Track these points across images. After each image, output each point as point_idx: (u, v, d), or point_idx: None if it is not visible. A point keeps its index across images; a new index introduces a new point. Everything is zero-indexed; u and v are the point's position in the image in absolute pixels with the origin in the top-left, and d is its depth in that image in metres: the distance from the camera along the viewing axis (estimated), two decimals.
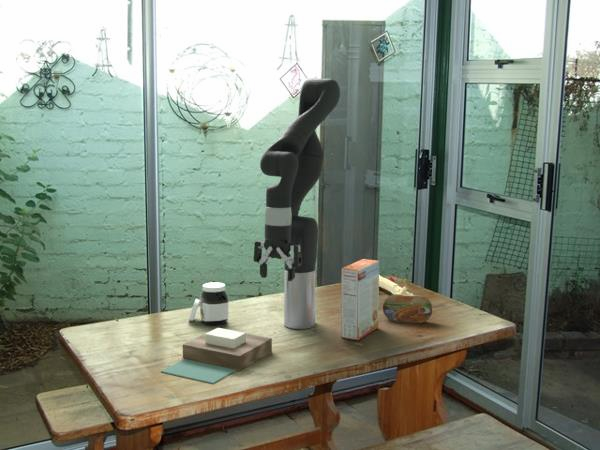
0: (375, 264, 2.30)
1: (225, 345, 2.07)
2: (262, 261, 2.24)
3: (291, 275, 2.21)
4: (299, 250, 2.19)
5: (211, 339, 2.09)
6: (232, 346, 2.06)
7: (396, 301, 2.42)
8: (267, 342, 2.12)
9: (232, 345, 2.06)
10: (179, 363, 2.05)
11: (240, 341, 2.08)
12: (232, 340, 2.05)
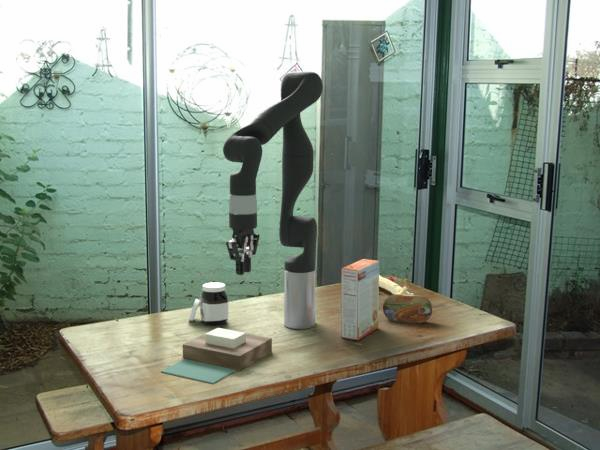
0: (375, 264, 2.30)
1: (225, 345, 2.07)
2: (243, 257, 2.12)
3: None
4: None
5: (211, 339, 2.09)
6: (232, 346, 2.06)
7: (396, 301, 2.42)
8: (267, 342, 2.12)
9: (232, 345, 2.06)
10: (179, 363, 2.05)
11: (240, 341, 2.08)
12: (232, 340, 2.05)
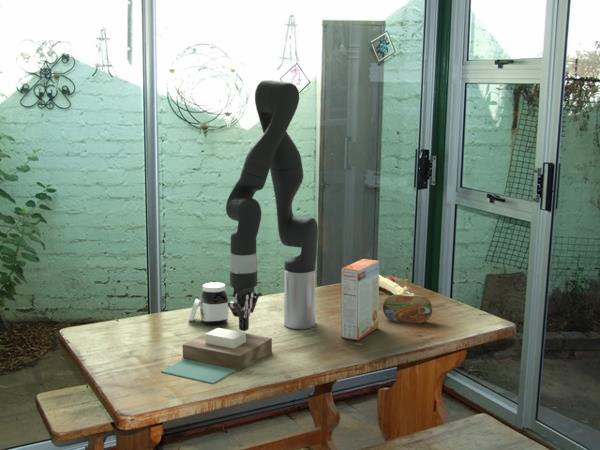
0: (375, 264, 2.30)
1: (225, 345, 2.07)
2: (246, 313, 2.16)
3: None
4: None
5: (211, 339, 2.09)
6: (232, 346, 2.06)
7: (396, 301, 2.42)
8: (267, 342, 2.12)
9: (232, 345, 2.06)
10: (179, 363, 2.05)
11: (240, 341, 2.08)
12: (232, 340, 2.05)
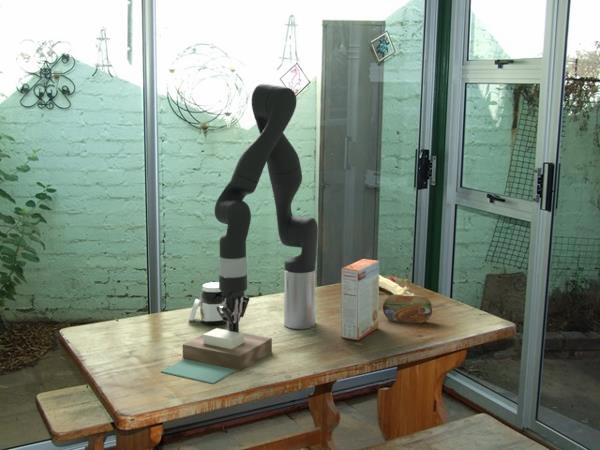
0: (375, 264, 2.30)
1: (223, 346, 2.06)
2: (235, 318, 2.11)
3: None
4: None
5: (209, 340, 2.08)
6: (230, 347, 2.05)
7: (396, 301, 2.42)
8: (267, 342, 2.12)
9: (230, 346, 2.05)
10: (179, 363, 2.05)
11: (238, 342, 2.08)
12: (230, 341, 2.05)
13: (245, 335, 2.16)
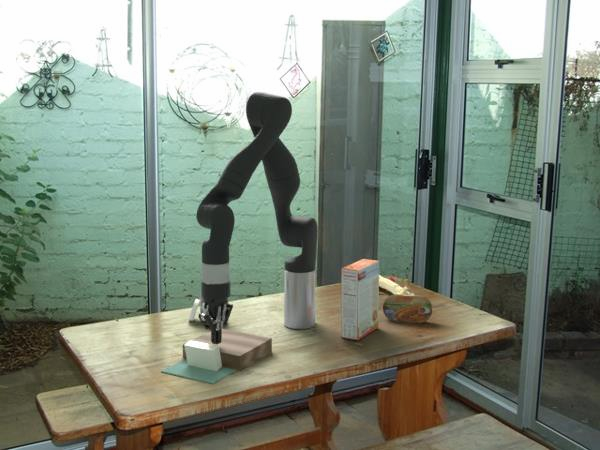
0: (375, 264, 2.30)
1: None
2: (218, 326, 2.04)
3: (220, 336, 2.07)
4: None
5: None
6: None
7: (396, 301, 2.42)
8: (267, 342, 2.12)
9: None
10: (179, 363, 2.05)
11: (218, 356, 2.00)
12: None
13: (245, 335, 2.16)
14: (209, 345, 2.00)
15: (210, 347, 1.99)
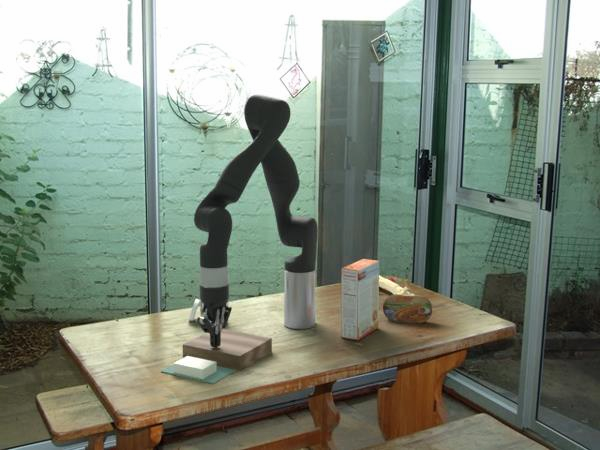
0: (375, 264, 2.30)
1: None
2: (217, 329, 2.04)
3: (219, 339, 2.06)
4: None
5: None
6: None
7: (396, 301, 2.42)
8: (267, 342, 2.12)
9: None
10: None
11: (209, 369, 1.96)
12: None
13: (245, 335, 2.16)
14: (194, 370, 1.95)
15: (197, 373, 1.95)
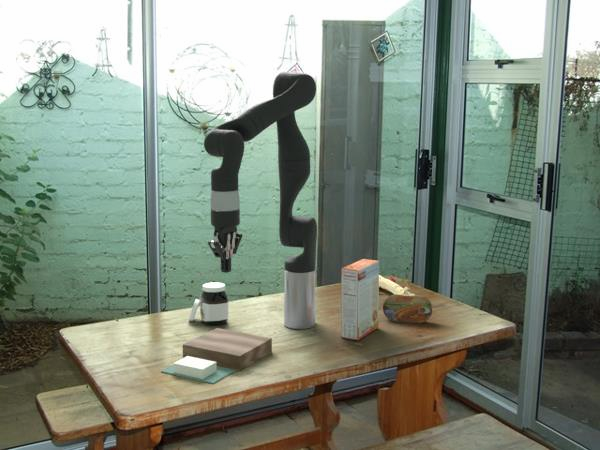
0: (375, 264, 2.30)
1: None
2: (228, 254, 2.05)
3: None
4: None
5: None
6: None
7: (396, 301, 2.42)
8: (267, 342, 2.12)
9: None
10: None
11: (209, 369, 1.96)
12: None
13: (245, 335, 2.16)
14: (194, 370, 1.95)
15: (197, 373, 1.95)
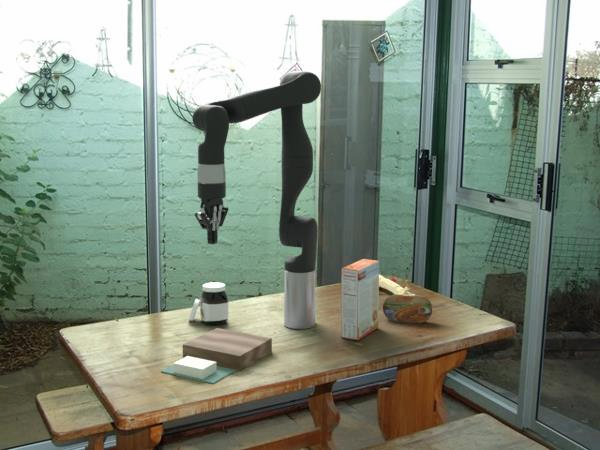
0: (375, 264, 2.30)
1: None
2: (214, 226, 2.12)
3: (216, 237, 2.15)
4: None
5: None
6: None
7: (396, 301, 2.42)
8: (267, 342, 2.12)
9: None
10: None
11: (209, 369, 1.96)
12: None
13: (245, 335, 2.16)
14: (194, 370, 1.95)
15: (197, 373, 1.95)
